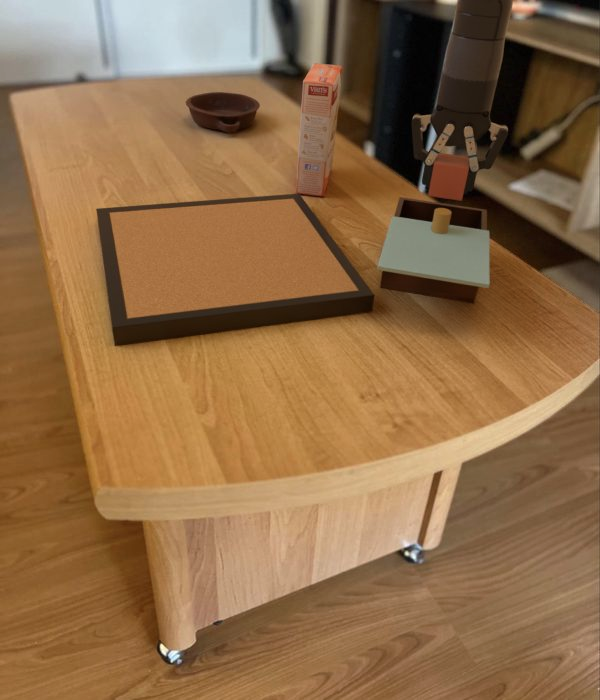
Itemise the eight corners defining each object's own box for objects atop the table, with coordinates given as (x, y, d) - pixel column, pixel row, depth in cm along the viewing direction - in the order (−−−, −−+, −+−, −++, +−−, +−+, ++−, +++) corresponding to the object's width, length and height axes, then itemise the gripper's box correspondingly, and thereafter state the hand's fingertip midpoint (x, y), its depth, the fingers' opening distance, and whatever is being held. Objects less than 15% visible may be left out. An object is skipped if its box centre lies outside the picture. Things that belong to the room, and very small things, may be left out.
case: (475, 254, 106) (486, 209, 101) (474, 303, 93) (486, 255, 88) (392, 240, 108) (399, 196, 103) (380, 287, 95) (387, 239, 90)
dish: (190, 139, 142) (189, 116, 139) (183, 109, 159) (182, 89, 156) (267, 137, 146) (267, 115, 143) (251, 109, 163) (251, 88, 160)
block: (462, 188, 98) (469, 156, 95) (461, 201, 94) (469, 168, 91) (430, 183, 98) (436, 152, 95) (428, 196, 95) (434, 163, 92)
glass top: (488, 234, 93) (494, 211, 91) (488, 288, 80) (495, 263, 78) (391, 219, 95) (395, 197, 93) (376, 269, 83) (380, 245, 80)
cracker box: (325, 198, 120) (335, 83, 108) (294, 194, 121) (300, 79, 108) (334, 171, 132) (343, 64, 119) (305, 168, 132) (312, 61, 119)
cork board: (372, 311, 90) (298, 207, 116) (374, 294, 88) (299, 193, 115) (114, 345, 80) (98, 224, 107) (112, 327, 78) (96, 208, 105)
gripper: (415, 71, 84) (396, 192, 94) (526, 84, 82) (494, 207, 92) (420, 59, 90) (401, 174, 100) (523, 71, 88) (494, 187, 98)
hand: (446, 189), depth 96 cm, fingers closed on block, 5 cm apart
